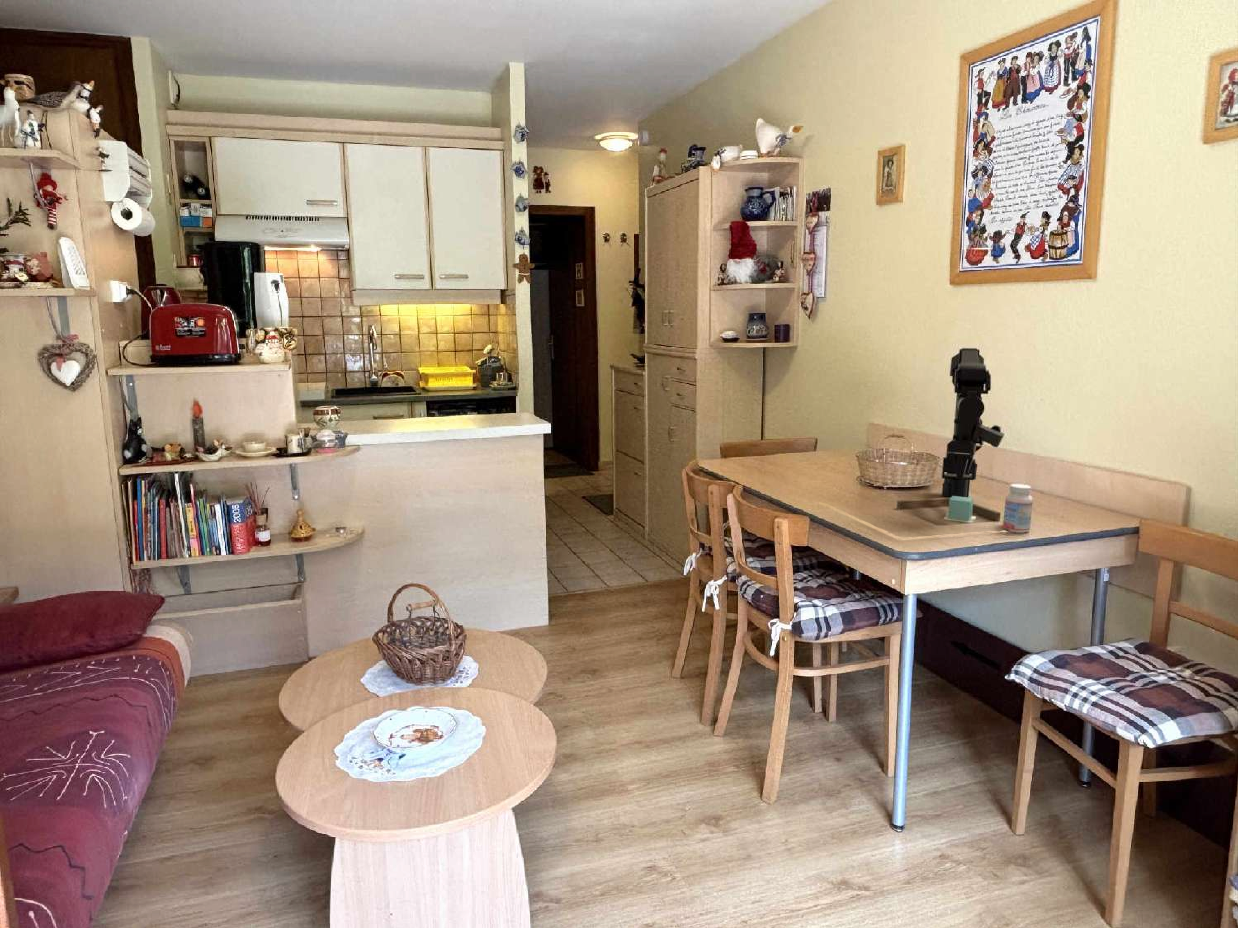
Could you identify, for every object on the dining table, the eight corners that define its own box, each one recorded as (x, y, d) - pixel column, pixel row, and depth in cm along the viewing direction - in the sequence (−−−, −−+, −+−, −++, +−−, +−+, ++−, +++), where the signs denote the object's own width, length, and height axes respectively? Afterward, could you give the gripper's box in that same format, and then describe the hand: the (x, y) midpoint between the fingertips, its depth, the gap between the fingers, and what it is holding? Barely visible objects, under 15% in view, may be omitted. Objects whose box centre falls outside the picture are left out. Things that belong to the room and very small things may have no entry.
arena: (954, 507, 227) (955, 497, 227) (999, 524, 210) (1000, 512, 210) (896, 511, 223) (897, 500, 222) (937, 528, 206) (938, 516, 205)
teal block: (951, 514, 216) (952, 495, 215) (971, 517, 214) (973, 498, 213) (947, 518, 212) (949, 499, 211) (968, 521, 209) (970, 501, 208)
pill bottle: (997, 527, 207) (1001, 483, 205) (1021, 526, 208) (1025, 483, 206) (1011, 533, 201) (1015, 488, 199) (1035, 533, 202) (1039, 488, 200)
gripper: (998, 421, 196) (992, 486, 199) (1007, 413, 212) (1001, 473, 215) (948, 418, 201) (943, 481, 204) (960, 410, 217) (956, 469, 220)
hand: (963, 476), depth 211 cm, fingers open, 9 cm apart
